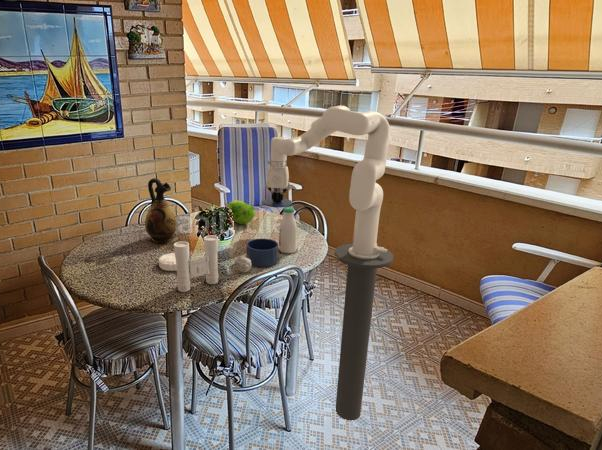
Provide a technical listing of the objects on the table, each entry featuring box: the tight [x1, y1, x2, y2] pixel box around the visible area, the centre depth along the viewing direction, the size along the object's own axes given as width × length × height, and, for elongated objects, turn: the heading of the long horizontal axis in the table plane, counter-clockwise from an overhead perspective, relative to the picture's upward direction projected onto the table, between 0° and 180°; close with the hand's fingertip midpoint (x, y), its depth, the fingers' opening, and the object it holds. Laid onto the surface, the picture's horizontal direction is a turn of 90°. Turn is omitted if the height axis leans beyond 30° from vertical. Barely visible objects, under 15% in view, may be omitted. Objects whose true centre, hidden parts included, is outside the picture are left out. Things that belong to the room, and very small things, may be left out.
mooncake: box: [158, 252, 177, 272], centre depth 171 cm, size 12×12×4 cm
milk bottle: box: [278, 206, 298, 254], centre depth 180 cm, size 8×8×20 cm
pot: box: [245, 238, 279, 268], centre depth 173 cm, size 13×13×8 cm
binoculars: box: [173, 234, 220, 293], centre depth 151 cm, size 17×5×18 cm, turn 118°
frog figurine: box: [234, 255, 252, 273], centre depth 163 cm, size 6×7×7 cm
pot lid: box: [262, 190, 293, 208], centre depth 198 cm, size 14×14×6 cm
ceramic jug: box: [144, 177, 178, 244], centre depth 195 cm, size 17×15×30 cm
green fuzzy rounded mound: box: [226, 199, 256, 225], centre depth 220 cm, size 13×23×12 cm, turn 25°
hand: (277, 200), depth 199 cm, fingers closed on pot lid, 2 cm apart
